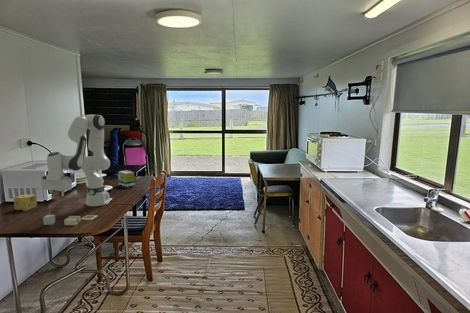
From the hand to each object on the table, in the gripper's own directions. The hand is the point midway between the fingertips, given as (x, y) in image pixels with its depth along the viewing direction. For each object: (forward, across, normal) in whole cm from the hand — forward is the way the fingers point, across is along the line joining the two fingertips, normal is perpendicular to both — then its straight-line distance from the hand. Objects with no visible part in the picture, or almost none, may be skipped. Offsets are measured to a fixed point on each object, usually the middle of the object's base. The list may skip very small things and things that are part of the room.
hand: (57, 196), depth 201 cm
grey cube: (+16, +1, +8) cm, 18 cm away
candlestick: (+18, +14, -74) cm, 77 cm away
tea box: (+18, -2, -98) cm, 99 cm away
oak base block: (+17, -14, +6) cm, 23 cm away
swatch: (+16, -19, -5) cm, 26 cm away
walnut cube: (+2, 0, 0) cm, 2 cm away
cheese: (+17, +41, -19) cm, 48 cm away
